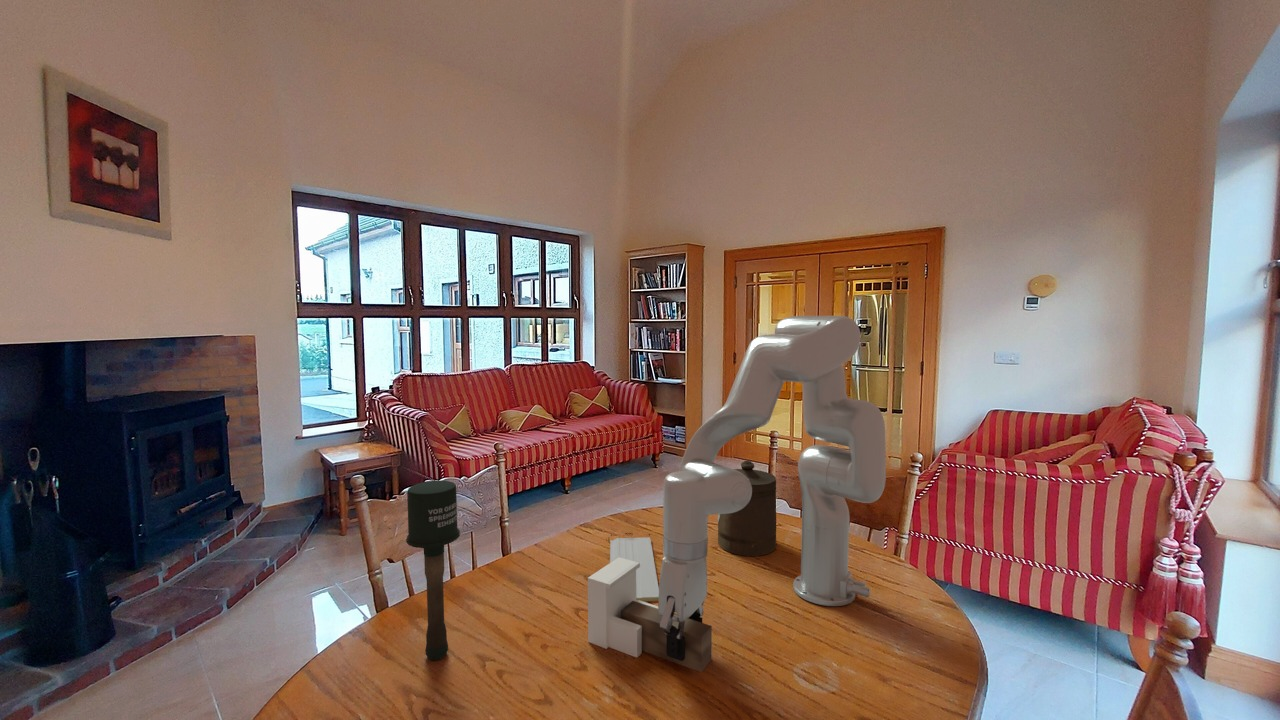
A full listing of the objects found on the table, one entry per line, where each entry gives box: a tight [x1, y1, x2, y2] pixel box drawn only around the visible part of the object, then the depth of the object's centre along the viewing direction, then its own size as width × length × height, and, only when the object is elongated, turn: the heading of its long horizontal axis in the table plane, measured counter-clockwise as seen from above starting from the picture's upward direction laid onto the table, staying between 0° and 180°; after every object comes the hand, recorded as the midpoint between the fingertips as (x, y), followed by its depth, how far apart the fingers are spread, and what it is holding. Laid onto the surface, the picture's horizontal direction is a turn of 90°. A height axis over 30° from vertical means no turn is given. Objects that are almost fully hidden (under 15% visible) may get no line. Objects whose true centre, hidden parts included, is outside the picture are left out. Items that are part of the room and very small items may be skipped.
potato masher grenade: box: [405, 480, 461, 661], centre depth 93 cm, size 8×9×30 cm
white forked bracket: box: [587, 557, 658, 658], centre depth 99 cm, size 10×10×12 cm
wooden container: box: [717, 460, 777, 557], centre depth 140 cm, size 15×15×22 cm
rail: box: [621, 601, 713, 673], centre depth 95 cm, size 16×4×6 cm, turn 58°
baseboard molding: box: [605, 532, 659, 603], centre depth 127 cm, size 31×3×12 cm
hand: (684, 646), depth 93 cm, fingers open, 6 cm apart
